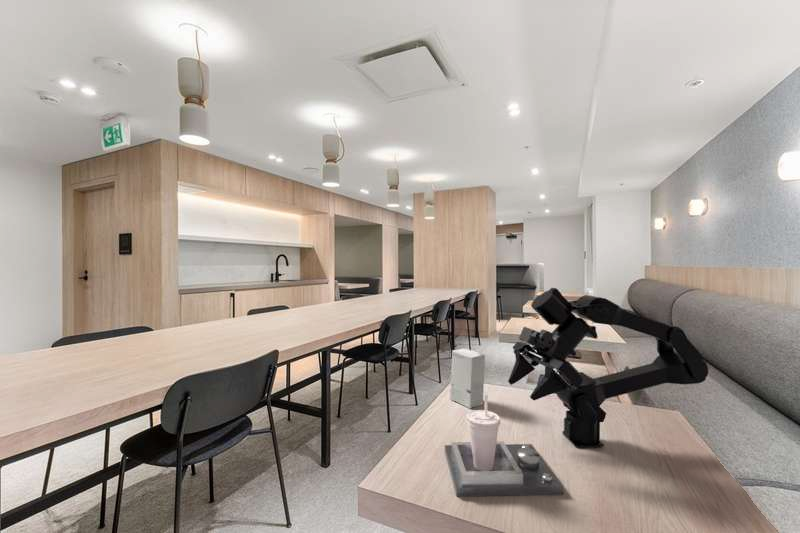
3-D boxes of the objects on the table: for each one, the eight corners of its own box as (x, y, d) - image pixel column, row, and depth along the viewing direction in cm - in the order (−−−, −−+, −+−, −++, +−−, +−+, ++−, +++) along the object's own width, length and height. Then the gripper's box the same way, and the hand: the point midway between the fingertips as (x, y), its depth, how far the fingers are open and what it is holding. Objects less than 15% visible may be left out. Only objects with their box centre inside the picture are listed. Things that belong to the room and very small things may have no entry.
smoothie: (507, 472, 65) (507, 399, 65) (476, 478, 63) (476, 403, 63) (489, 454, 71) (489, 387, 71) (461, 459, 69) (461, 390, 69)
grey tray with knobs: (531, 450, 75) (531, 435, 75) (563, 494, 61) (563, 475, 61) (444, 452, 75) (444, 436, 75) (456, 496, 61) (456, 476, 61)
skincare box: (449, 400, 102) (449, 350, 102) (463, 395, 106) (463, 347, 106) (471, 409, 96) (471, 356, 95) (485, 404, 99) (485, 353, 99)
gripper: (519, 309, 86) (478, 355, 84) (570, 322, 68) (518, 381, 66) (547, 338, 88) (508, 384, 86) (604, 359, 70) (555, 418, 68)
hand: (520, 390), depth 77 cm, fingers open, 9 cm apart
